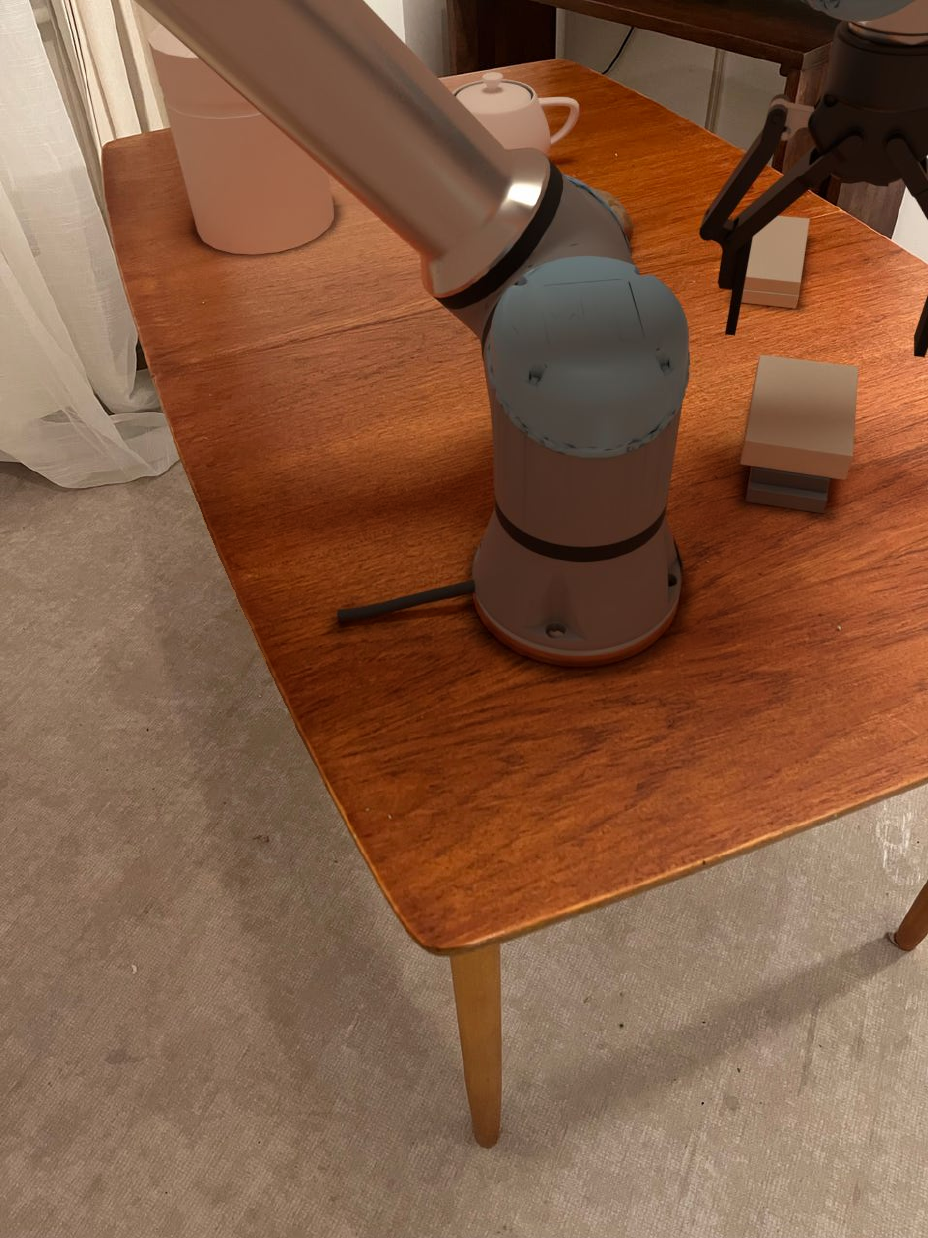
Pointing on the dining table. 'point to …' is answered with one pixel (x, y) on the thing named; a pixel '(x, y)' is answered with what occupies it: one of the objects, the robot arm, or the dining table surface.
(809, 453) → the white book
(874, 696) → the dining table surface
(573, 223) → the robot arm
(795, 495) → the grey stack
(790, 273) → the white stack
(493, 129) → the teapot
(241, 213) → the canister
